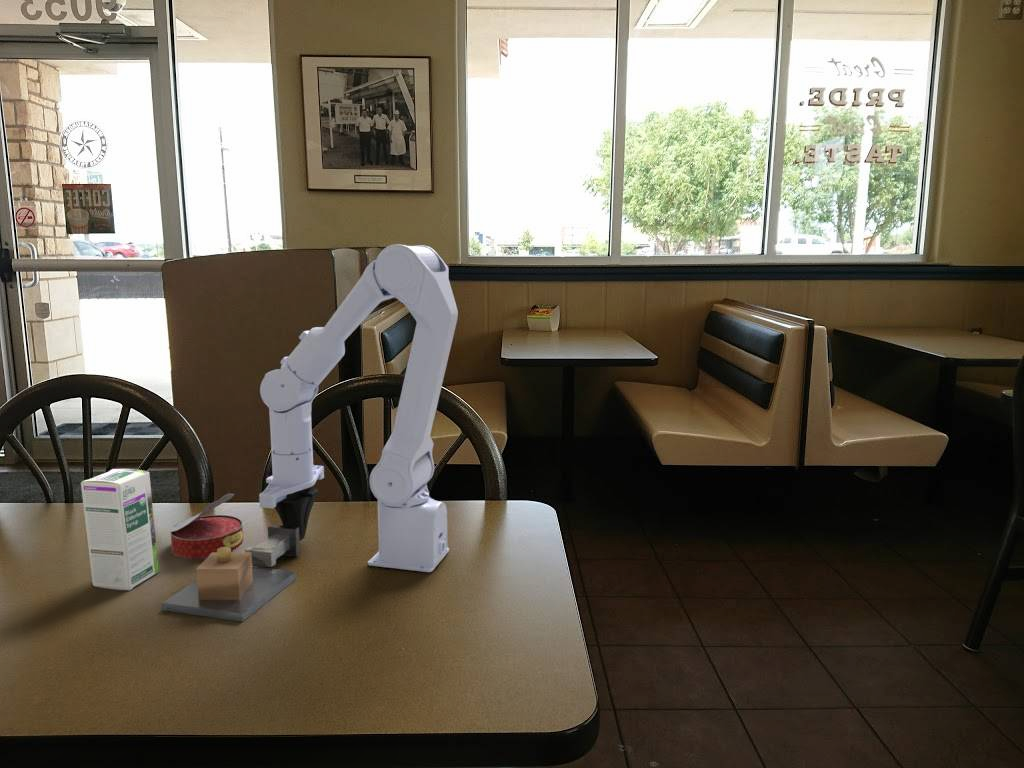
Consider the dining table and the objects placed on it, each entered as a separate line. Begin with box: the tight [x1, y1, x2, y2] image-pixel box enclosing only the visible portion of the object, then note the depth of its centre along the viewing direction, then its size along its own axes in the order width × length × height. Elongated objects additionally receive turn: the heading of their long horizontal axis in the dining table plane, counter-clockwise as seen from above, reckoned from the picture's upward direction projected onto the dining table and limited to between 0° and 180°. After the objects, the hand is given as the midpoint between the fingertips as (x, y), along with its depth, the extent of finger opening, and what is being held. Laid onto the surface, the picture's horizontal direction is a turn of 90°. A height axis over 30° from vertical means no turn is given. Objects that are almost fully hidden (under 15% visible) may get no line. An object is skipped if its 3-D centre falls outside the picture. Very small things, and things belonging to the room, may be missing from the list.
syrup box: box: [80, 468, 160, 591], centre depth 96 cm, size 6×6×14 cm
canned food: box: [169, 493, 244, 559], centre depth 108 cm, size 11×10×10 cm
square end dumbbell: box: [244, 523, 301, 568], centre depth 102 cm, size 4×7×4 cm, turn 166°
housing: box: [195, 547, 253, 600], centre depth 92 cm, size 5×5×6 cm
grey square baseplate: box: [161, 565, 297, 623], centre depth 93 cm, size 11×12×1 cm
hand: (296, 538), depth 108 cm, fingers closed
